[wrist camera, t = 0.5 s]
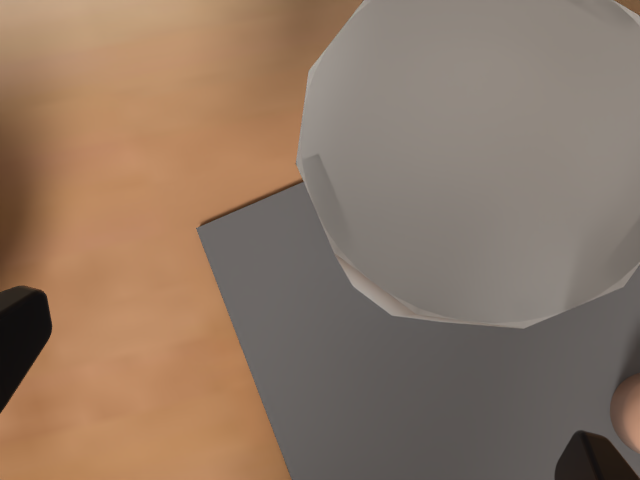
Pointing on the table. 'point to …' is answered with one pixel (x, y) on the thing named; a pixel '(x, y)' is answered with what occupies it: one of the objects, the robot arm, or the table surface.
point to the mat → (408, 364)
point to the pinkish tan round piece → (627, 412)
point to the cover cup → (478, 155)
